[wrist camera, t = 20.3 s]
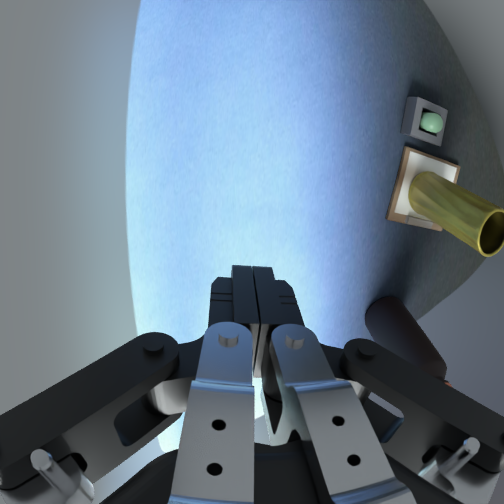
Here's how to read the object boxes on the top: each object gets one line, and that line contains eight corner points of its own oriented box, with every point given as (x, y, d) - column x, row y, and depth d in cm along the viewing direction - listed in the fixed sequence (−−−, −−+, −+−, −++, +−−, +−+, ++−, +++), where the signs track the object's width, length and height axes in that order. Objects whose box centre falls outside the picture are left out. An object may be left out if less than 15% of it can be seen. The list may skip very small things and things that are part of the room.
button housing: (407, 96, 32) (417, 96, 30) (436, 109, 33) (447, 110, 31) (400, 133, 34) (410, 135, 32) (430, 143, 35) (440, 146, 33)
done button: (416, 109, 32) (429, 110, 30) (430, 115, 33) (444, 117, 30) (412, 126, 33) (426, 129, 31) (426, 132, 34) (440, 135, 31)
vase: (446, 174, 36) (518, 207, 23) (437, 215, 39) (502, 261, 26) (411, 167, 36) (484, 201, 23) (403, 212, 38) (468, 261, 25)
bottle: (409, 302, 46) (473, 391, 28) (384, 334, 48) (436, 427, 30) (381, 289, 44) (447, 386, 26) (355, 323, 46) (405, 425, 28)
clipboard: (404, 146, 35) (409, 147, 34) (457, 165, 36) (463, 167, 35) (385, 218, 39) (389, 221, 38) (439, 229, 40) (444, 233, 39)
